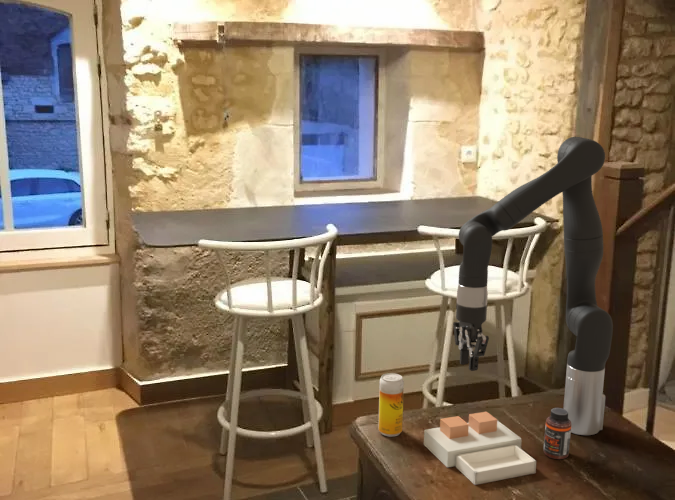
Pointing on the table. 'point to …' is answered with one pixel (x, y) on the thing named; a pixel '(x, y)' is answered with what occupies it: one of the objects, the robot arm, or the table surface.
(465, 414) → the table surface
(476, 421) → the tile
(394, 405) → the beer can
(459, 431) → the orange square block
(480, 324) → the robot arm
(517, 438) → the slab
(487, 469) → the tray
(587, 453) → the table surface
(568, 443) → the supplement bottle
